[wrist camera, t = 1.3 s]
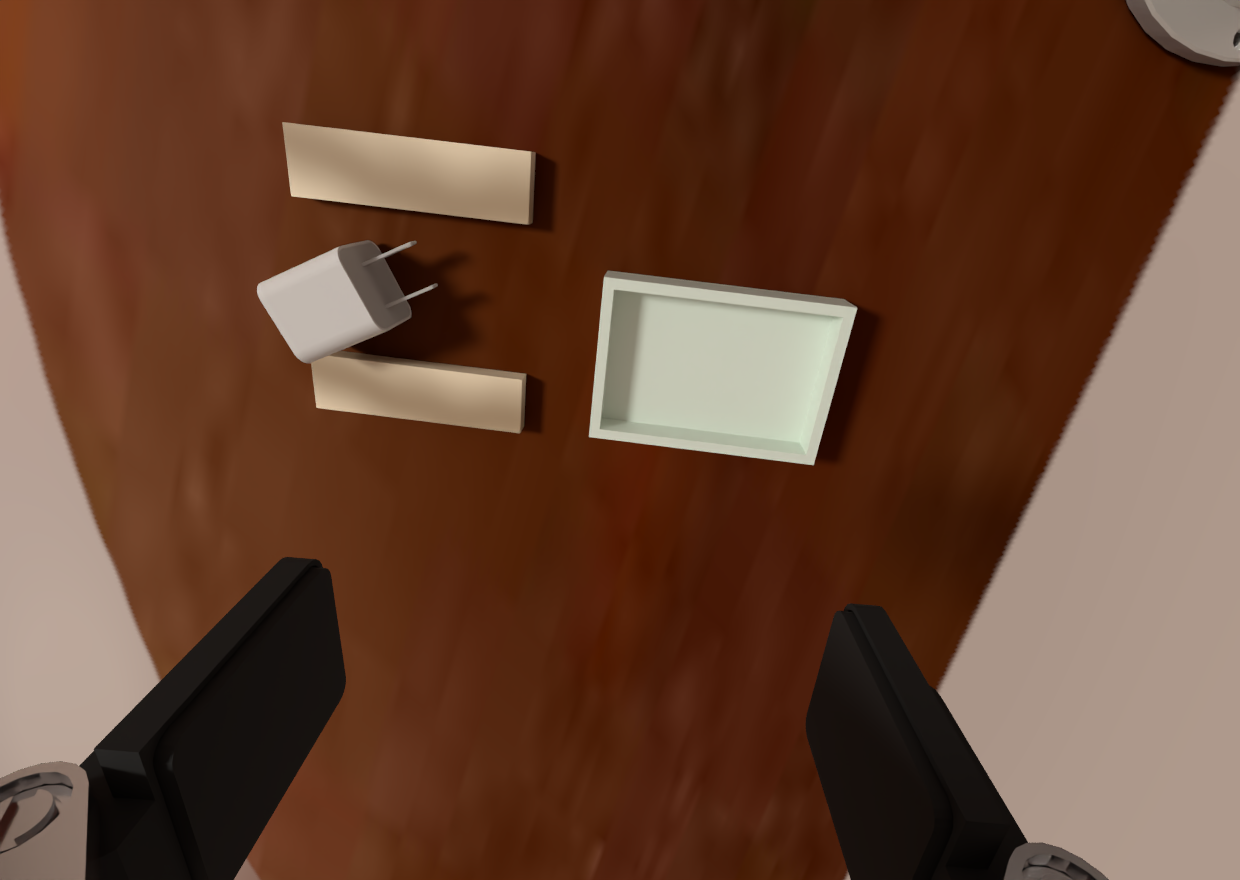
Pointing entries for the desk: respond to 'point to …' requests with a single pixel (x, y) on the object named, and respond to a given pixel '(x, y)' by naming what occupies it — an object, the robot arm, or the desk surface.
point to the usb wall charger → (336, 300)
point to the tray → (716, 366)
